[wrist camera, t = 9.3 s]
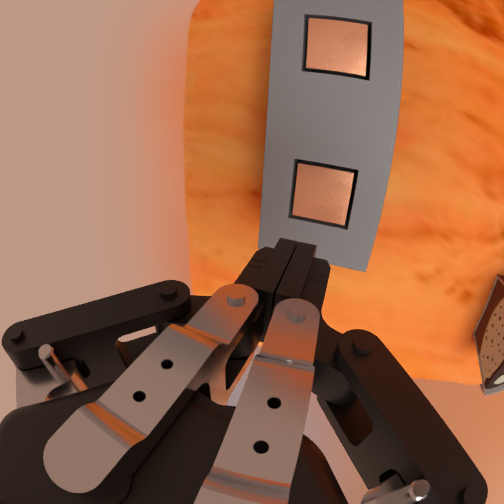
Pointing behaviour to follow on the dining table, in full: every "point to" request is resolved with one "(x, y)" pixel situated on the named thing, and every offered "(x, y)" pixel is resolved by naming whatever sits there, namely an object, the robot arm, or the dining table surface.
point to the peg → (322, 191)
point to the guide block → (331, 125)
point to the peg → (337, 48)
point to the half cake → (491, 340)
